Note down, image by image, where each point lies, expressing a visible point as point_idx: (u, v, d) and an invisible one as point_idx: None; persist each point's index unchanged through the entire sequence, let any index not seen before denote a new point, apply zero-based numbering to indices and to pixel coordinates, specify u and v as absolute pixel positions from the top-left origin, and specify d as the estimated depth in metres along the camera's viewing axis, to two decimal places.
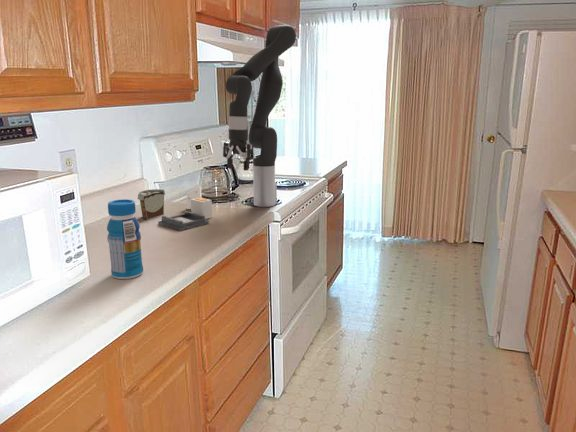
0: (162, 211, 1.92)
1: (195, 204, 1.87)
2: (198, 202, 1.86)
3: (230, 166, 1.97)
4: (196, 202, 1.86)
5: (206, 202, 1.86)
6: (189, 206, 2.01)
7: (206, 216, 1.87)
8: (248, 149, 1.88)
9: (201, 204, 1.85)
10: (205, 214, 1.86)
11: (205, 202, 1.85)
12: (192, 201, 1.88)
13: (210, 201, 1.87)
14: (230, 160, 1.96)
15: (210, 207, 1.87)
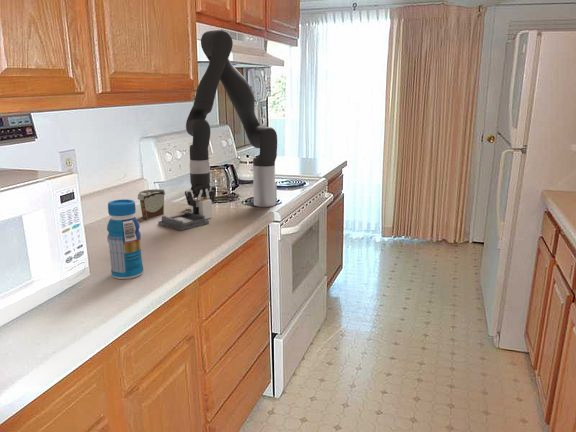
0: (162, 211, 1.92)
1: None
2: None
3: None
4: None
5: (206, 202, 1.85)
6: (189, 206, 2.01)
7: (206, 216, 1.87)
8: (214, 192, 1.91)
9: (201, 203, 1.84)
10: (205, 214, 1.86)
11: (205, 202, 1.85)
12: None
13: (210, 201, 1.87)
14: None
15: (210, 207, 1.87)
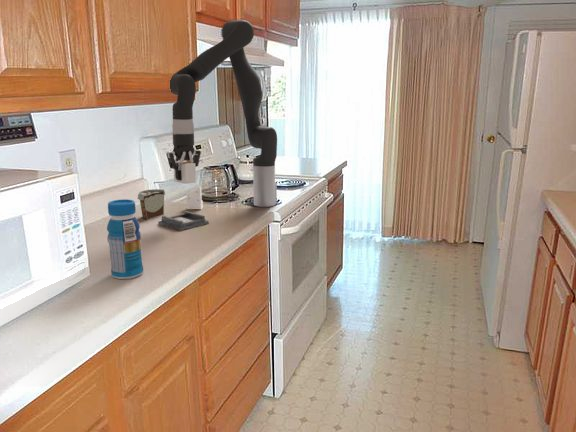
0: (162, 211, 1.92)
1: None
2: (181, 165, 1.74)
3: None
4: None
5: (189, 165, 1.74)
6: (189, 206, 2.01)
7: (189, 180, 1.75)
8: (199, 156, 1.80)
9: (184, 166, 1.73)
10: (188, 178, 1.75)
11: (188, 165, 1.74)
12: None
13: (194, 164, 1.76)
14: None
15: (194, 171, 1.76)
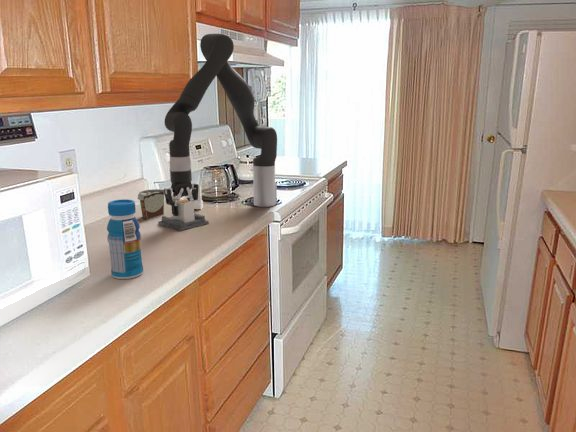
0: (162, 211, 1.92)
1: None
2: (179, 204, 1.75)
3: None
4: (177, 204, 1.76)
5: (188, 204, 1.75)
6: None
7: (188, 219, 1.77)
8: (197, 189, 1.80)
9: (182, 206, 1.74)
10: (187, 217, 1.76)
11: (187, 204, 1.75)
12: None
13: (192, 203, 1.77)
14: None
15: (192, 209, 1.77)
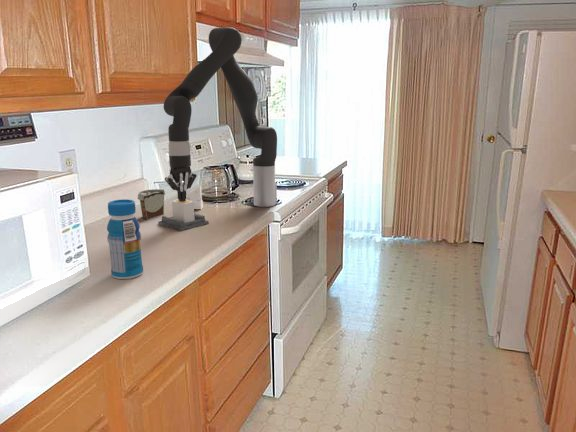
0: (162, 211, 1.92)
1: (176, 206, 1.77)
2: (179, 204, 1.75)
3: None
4: (177, 204, 1.76)
5: (188, 204, 1.75)
6: None
7: (188, 219, 1.77)
8: (193, 179, 1.78)
9: (182, 206, 1.74)
10: (187, 217, 1.76)
11: (187, 204, 1.75)
12: (173, 203, 1.78)
13: (192, 203, 1.77)
14: None
15: (192, 209, 1.77)
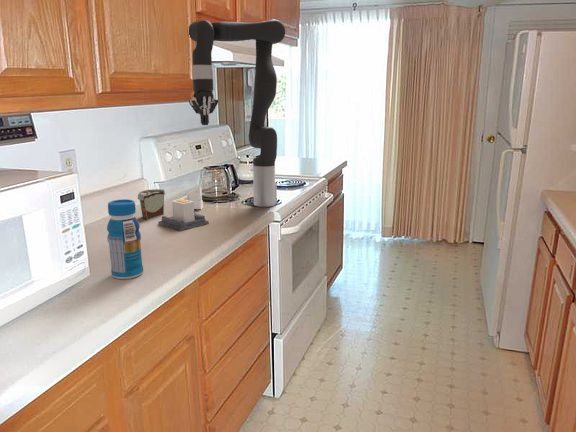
0: (162, 211, 1.92)
1: (176, 206, 1.77)
2: (179, 204, 1.75)
3: None
4: (177, 204, 1.76)
5: (188, 204, 1.75)
6: None
7: (188, 219, 1.77)
8: (215, 104, 1.86)
9: (182, 206, 1.74)
10: (187, 217, 1.76)
11: (187, 204, 1.75)
12: (173, 203, 1.78)
13: (192, 203, 1.77)
14: None
15: (192, 209, 1.77)
